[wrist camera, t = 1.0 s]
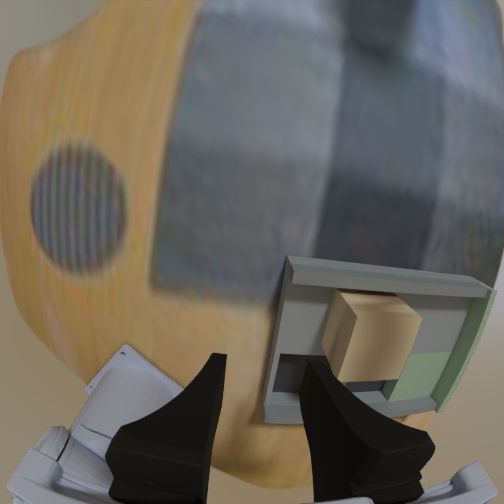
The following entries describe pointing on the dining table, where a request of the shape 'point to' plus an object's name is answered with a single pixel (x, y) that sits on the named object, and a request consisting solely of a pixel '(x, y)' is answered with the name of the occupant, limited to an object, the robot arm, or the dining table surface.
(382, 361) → the beech cube
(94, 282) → the dining table surface
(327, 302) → the box
